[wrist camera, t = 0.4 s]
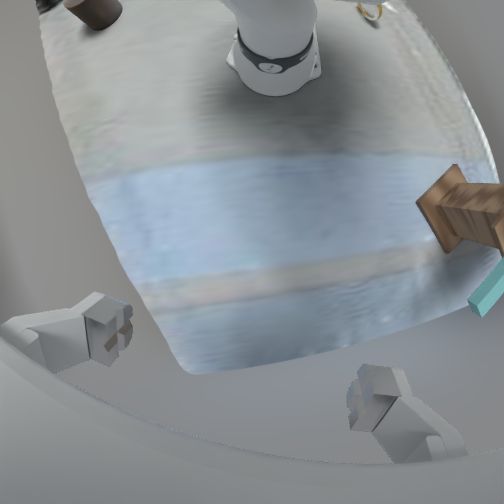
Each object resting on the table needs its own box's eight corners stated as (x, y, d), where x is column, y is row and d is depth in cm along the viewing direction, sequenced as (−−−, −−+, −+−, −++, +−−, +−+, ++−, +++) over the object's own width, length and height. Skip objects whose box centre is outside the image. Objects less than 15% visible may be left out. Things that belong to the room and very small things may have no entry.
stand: (439, 258, 54) (517, 295, 29) (409, 207, 53) (492, 221, 27) (483, 209, 51) (562, 223, 26) (457, 159, 50) (540, 152, 24)
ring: (377, 24, 44) (389, 8, 37) (366, 26, 45) (377, 9, 37) (361, 3, 43) (370, -15, 36) (350, 5, 44) (358, -14, 36)
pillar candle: (102, 34, 47) (71, 9, 33) (84, 24, 46) (54, 1, 32) (129, 7, 46) (104, -23, 31) (109, -2, 45) (83, -29, 30)
